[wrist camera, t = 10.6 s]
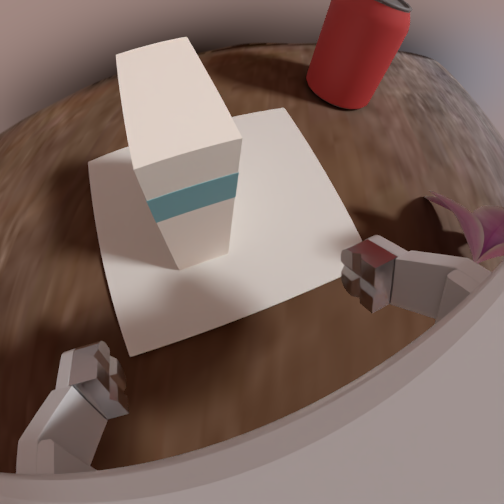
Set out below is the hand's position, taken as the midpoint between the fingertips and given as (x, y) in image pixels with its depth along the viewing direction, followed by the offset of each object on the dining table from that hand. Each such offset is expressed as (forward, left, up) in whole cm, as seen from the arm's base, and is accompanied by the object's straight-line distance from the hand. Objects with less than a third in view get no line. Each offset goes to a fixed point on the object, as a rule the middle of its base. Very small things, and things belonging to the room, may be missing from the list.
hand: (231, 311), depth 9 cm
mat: (+2, +7, -8) cm, 11 cm away
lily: (+19, -2, -8) cm, 20 cm away
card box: (0, +7, -7) cm, 10 cm away
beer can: (+17, +16, -8) cm, 25 cm away
